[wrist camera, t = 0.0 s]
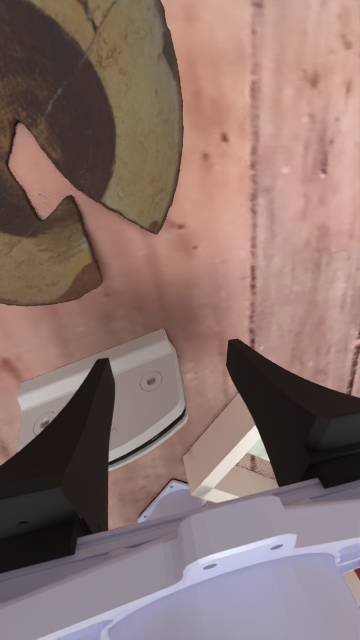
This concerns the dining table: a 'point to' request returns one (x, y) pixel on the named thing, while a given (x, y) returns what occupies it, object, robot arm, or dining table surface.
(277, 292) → the dining table surface
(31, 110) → the brown frying pan
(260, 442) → the mat
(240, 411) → the corner wall
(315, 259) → the dining table surface
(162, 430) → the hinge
